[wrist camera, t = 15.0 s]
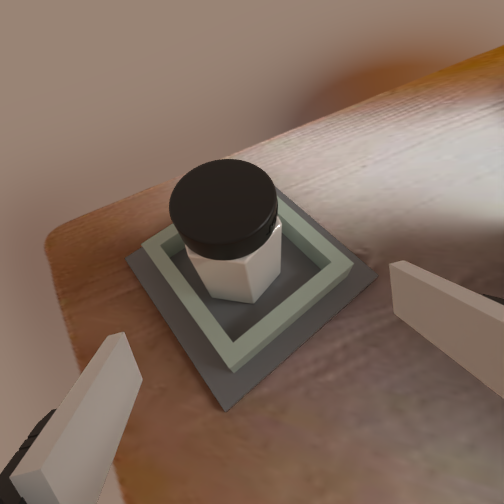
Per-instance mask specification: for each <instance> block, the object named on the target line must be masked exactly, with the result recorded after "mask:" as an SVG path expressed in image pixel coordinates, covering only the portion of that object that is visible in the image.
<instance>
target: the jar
mask: <svg viewBox="0 0 504 504" xmlns="http://www.w3.org/2000/svg"><path fill="white" fill-rule="evenodd" d="M169 212H170V217H171V220H172V222H173V224H174V226H175V227H176V229H177V231H178V233H179V235H180V237H181V238H182V240H183V242H184V244H185V247H186V251H187V254H188V257H189V259H190V260H191V262H192V264H193V266H194V268H195V269H196V271H197V273H198V275H199V276H200V278H201V280H202V282H203V284H204V285H205V287H206V289H207V291H208V292H209V294H210V296H211V297H212V298H217V299H224V300H230V301H237V302H244V303H250V304H254V303H255V302H256V301H257V300H258V298H259V297H260V296H261V295H262V294H263V293H264V292H265V290H266V289H267V288H268V287H269V286H270V285H271V283H272V282H273V281H274V280H275V279H276V278H277V276H278V275H279V274H280V272H281V238H282V223H281V221H280V219H279V217H278V199H277V193H276V189H275V186H274V183H273V181H272V180H271V178H270V177H269V176H268V175H267V174H266V172H264V171H263V170H262V169H261V168H259V167H257V166H256V165H254V164H251V163H249V162H246V161H242V160H236V159H222V160H215V161H211V162H208V163H205V164H202V165H200V166H198V167H196V168H194V169H193V170H191V171H189V172H188V173H187V174H186V175H184V176H183V177H182V178H181V179H180V181H179V182H178V183H177V185H176V186H175V188H174V190H173V192H172V194H171V197H170V202H169Z"/></svg>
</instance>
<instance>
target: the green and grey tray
mask: <svg viewBox="0 0 504 504" xmlns="http://www.w3.org/2000/svg"><path fill="white" fill-rule="evenodd" d="M275 189H276V193H277V199H278V217H279V219H280V221H281V223H282V238H281V272H280V274H279V275H278V276H277V278H276V279H275V280H274V281H273V282H272V283H271V285H270V286H269V287H268V288H267V289H266V290H265V292H264V293H263V294H262V295H261V296H260V297H259V298H258V300H257V301H256V302H255V303H254V304H250V303H244V302H237V301H230V300H224V299H217V298H212V297H211V296H210V294H209V292H208V291H207V289H206V287H205V285H204V284H203V282H202V280H201V278H200V276H199V275H198V273H197V271H196V269H195V268H194V266H193V264H192V262H191V260H190V259H189V257H188V254H187V251H186V247H185V244H184V242H183V240H182V238H181V237H180V235H179V233H178V231H177V229H176V227H175V226H174V224H171V225H170V226H168V227H166V228H165V229H163V230H162V231H160V232H159V233H157V234H156V235H154V236H153V237H151V238H149V239H148V240H146V241H145V242H143V243H142V244H141V245H142V247H141V248H140V249H138V250H137V251H135V252H133V253H132V254H130V255H129V256H127V257H126V258H125V260H126V261H127V263H128V264H129V266H130V267H131V269H132V271H133V272H134V274H135V275H136V277H137V278H138V280H139V281H140V283H141V284H142V286H143V287H144V289H145V290H146V292H147V293H148V295H149V297H150V298H151V300H152V301H153V303H154V304H155V306H156V307H157V309H158V310H159V312H160V313H161V315H162V316H163V318H164V319H165V321H166V322H167V324H168V326H169V327H170V329H171V330H172V332H173V333H174V335H175V336H176V338H177V339H178V341H179V342H180V344H181V345H182V347H183V348H184V350H185V352H186V353H187V355H188V356H189V358H190V359H191V361H192V362H193V364H194V365H195V367H196V368H197V370H198V371H199V373H200V374H201V376H202V377H203V379H204V381H205V382H206V384H207V385H208V387H209V388H210V390H211V391H212V393H213V394H214V396H215V397H216V399H217V400H218V402H219V403H220V405H221V407H222V408H223V410H224V411H225V412H227V411H229V410H230V409H231V408H232V407H233V406H234V405H235V404H236V403H238V402H239V401H240V400H241V399H242V398H243V397H244V396H245V395H247V394H248V393H249V392H250V391H251V390H252V389H253V388H254V387H256V386H257V385H258V384H259V383H260V382H261V381H262V380H263V379H264V378H266V377H267V376H268V375H269V374H270V373H271V372H272V371H273V370H275V369H276V368H277V367H278V366H279V365H280V364H281V363H282V362H284V361H285V360H286V359H287V358H288V357H289V356H290V355H291V354H293V353H294V352H295V351H296V350H297V349H298V348H299V347H300V346H301V345H303V344H304V343H305V342H306V341H307V340H308V339H309V338H310V337H312V336H313V335H314V334H315V333H316V332H317V331H318V330H319V329H321V328H322V327H323V326H324V325H325V324H326V323H327V322H328V321H330V320H331V319H332V318H333V317H334V316H335V315H336V314H337V313H338V312H340V311H341V310H342V309H343V308H344V307H345V306H346V305H347V304H349V303H350V302H351V301H352V300H353V299H354V298H355V297H356V296H358V295H359V294H360V293H361V292H362V291H363V290H364V289H365V288H367V287H368V286H369V285H370V284H371V283H372V282H373V281H374V280H375V279H376V278H377V277H378V276H379V275H378V274H376V273H375V272H374V271H373V270H372V269H371V268H369V267H368V266H367V265H366V264H365V263H364V262H362V261H361V260H360V259H359V258H358V257H357V256H355V255H354V254H353V253H352V252H351V251H350V250H349V249H347V248H346V247H345V246H344V245H343V244H342V243H340V242H339V241H338V240H337V239H336V238H335V237H333V236H332V235H331V234H330V233H329V232H328V231H326V230H325V229H324V228H323V227H322V226H321V225H319V224H318V223H317V222H316V221H315V220H314V219H312V218H311V217H310V216H309V215H308V214H307V213H305V212H304V211H303V210H302V209H301V208H300V207H298V206H297V205H296V204H295V203H294V202H293V201H291V200H290V199H289V198H288V197H287V196H286V195H284V194H283V193H282V192H281V191H280V190H279V189H277V188H276V187H275Z"/></svg>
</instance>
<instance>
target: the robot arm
mask: <svg viewBox="0 0 504 504" xmlns="http://www.w3.org/2000/svg"><path fill="white" fill-rule="evenodd" d="M389 270H390V280H391V291H392V301H393V311H394V314H395V315H397V316H398V317H399V318H400V319H402V320H403V321H404V322H406V323H407V324H408V325H409V326H411V327H412V328H413V329H414V330H416V331H417V332H418V333H420V334H421V335H422V336H423V337H425V338H426V339H427V340H429V341H430V342H431V343H432V344H434V345H435V346H436V347H438V348H439V349H440V350H441V351H443V352H444V353H445V354H447V355H448V356H449V357H450V358H452V359H453V360H454V361H456V362H457V363H458V364H459V365H461V366H462V367H463V368H464V369H466V370H467V371H468V372H470V373H471V374H472V375H473V376H475V377H476V378H477V379H479V380H480V381H481V382H482V383H484V384H485V385H486V386H488V387H489V388H490V389H491V390H493V391H494V392H495V393H497V394H498V395H499V396H500V397H502V398H503V399H504V299H501V298H497V297H493V296H489V295H485V294H483V295H480V294H478V293H475V292H473V291H471V290H469V289H466V288H464V287H462V286H460V285H458V284H455V283H453V282H451V281H449V280H447V279H444V278H442V277H440V276H438V275H435V274H433V273H431V272H429V271H427V270H424V269H422V268H420V267H418V266H416V265H413V264H411V263H409V262H407V261H404V260H402V261H398V262H394V263H390V264H389ZM142 381H143V379H142V376H141V374H140V371H139V369H138V366H137V363H136V361H135V358H134V356H133V353H132V351H131V348H130V345H129V343H128V340H127V338H126V335H125V333H124V332H120V333H116V334H112V335H108V336H107V338H106V339H105V340H104V342H103V343H102V345H101V346H100V348H99V349H98V351H97V352H96V353H95V355H94V356H93V358H92V359H91V361H90V362H89V363H88V365H87V366H86V368H85V369H84V371H83V372H82V374H81V375H80V376H79V378H78V379H77V381H76V382H75V384H74V385H73V386H72V388H71V389H70V391H69V392H68V394H67V395H66V397H65V398H64V400H63V401H62V402H61V404H60V405H59V407H58V408H57V409H54V410H51V411H50V412H49V413H48V414H47V415H46V416H45V417H44V418H43V419H42V420H41V421H40V422H38V424H37V425H36V426H35V428H34V429H33V430H32V432H31V433H30V435H29V436H28V439H27V440H25V441H24V443H23V444H22V445H21V447H20V448H19V451H17V452H16V453H15V455H14V456H13V458H12V459H11V460H10V462H9V463H8V464H7V466H6V467H5V468H4V470H3V471H2V473H1V474H0V504H97V502H98V499H99V496H100V493H101V491H102V488H103V485H104V482H105V480H106V477H107V474H108V472H109V469H110V467H111V464H112V461H113V459H114V456H115V453H116V451H117V448H118V445H119V442H120V440H121V437H122V434H123V432H124V429H125V426H126V424H127V421H128V418H129V416H130V413H131V410H132V408H133V405H134V402H135V399H136V397H137V394H138V391H139V389H140V386H141V383H142Z"/></svg>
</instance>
